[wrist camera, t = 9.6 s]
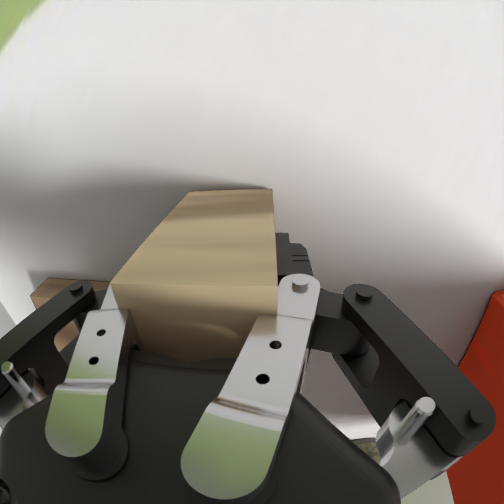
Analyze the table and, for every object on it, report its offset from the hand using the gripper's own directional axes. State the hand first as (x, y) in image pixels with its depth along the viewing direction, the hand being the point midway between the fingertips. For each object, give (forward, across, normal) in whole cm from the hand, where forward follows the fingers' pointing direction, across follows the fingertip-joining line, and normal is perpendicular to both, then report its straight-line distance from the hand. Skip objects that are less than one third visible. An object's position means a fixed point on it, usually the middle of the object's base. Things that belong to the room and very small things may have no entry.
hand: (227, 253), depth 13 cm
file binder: (+2, -24, +13) cm, 27 cm away
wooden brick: (+2, 0, +3) cm, 4 cm away
